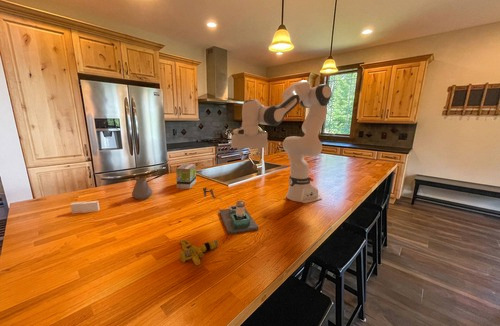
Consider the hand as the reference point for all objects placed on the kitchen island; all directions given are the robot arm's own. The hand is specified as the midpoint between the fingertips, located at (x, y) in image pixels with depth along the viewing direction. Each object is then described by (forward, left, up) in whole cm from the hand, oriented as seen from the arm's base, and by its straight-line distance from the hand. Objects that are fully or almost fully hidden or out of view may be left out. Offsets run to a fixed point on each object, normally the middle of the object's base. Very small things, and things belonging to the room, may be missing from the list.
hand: (249, 155), depth 113 cm
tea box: (+33, -45, -29) cm, 63 cm away
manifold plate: (+11, +16, -29) cm, 35 cm away
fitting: (+11, +21, -28) cm, 36 cm away
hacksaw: (+18, -22, -30) cm, 41 cm away
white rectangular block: (+85, -16, -30) cm, 92 cm away
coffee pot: (+55, -29, -29) cm, 69 cm away
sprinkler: (+31, +35, -30) cm, 55 cm away
